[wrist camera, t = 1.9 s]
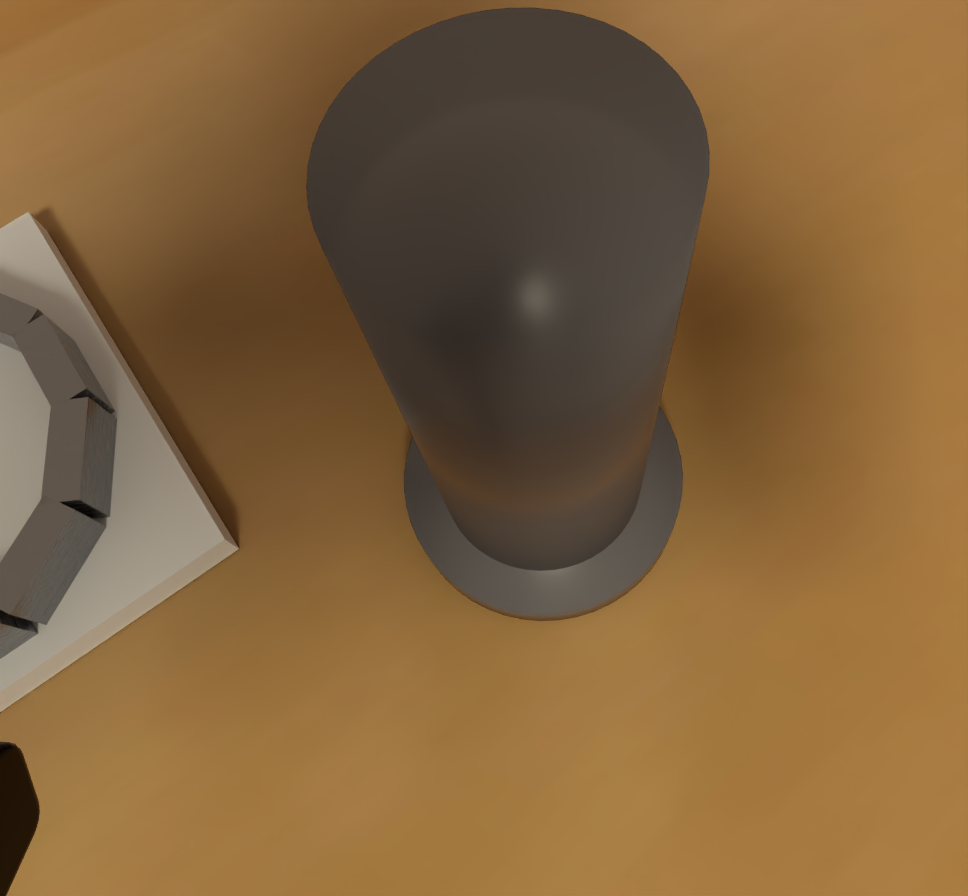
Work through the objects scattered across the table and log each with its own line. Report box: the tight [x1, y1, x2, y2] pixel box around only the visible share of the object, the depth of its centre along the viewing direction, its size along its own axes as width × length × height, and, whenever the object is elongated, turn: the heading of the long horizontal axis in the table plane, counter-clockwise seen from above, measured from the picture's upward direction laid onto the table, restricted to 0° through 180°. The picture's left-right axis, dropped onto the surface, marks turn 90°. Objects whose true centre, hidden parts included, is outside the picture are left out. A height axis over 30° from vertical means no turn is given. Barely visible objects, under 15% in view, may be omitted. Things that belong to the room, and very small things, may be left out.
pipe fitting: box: [306, 8, 709, 621], centre depth 17 cm, size 7×7×13 cm
